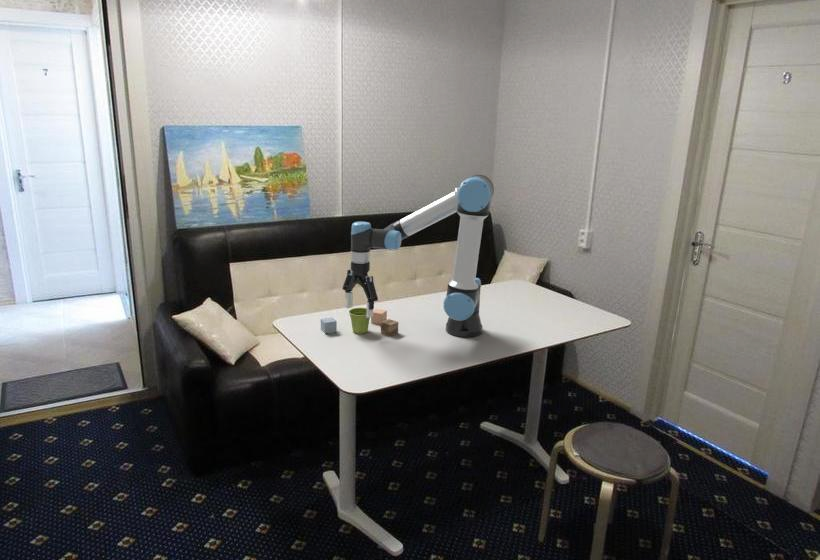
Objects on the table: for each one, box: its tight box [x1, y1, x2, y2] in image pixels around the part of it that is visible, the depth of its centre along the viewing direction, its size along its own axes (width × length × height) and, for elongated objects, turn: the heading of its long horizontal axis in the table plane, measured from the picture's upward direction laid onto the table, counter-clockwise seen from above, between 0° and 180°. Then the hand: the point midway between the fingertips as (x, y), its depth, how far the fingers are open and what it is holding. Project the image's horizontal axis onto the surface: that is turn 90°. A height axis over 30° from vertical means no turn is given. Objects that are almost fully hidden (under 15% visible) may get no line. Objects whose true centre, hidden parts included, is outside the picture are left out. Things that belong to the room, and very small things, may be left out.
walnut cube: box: [380, 318, 399, 337], centre depth 236 cm, size 5×5×5 cm
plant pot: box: [348, 307, 371, 335], centre depth 237 cm, size 9×9×9 cm
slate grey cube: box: [320, 317, 338, 335], centre depth 237 cm, size 5×5×5 cm
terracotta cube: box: [370, 308, 388, 326], centre depth 249 cm, size 5×5×5 cm
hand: (359, 312), depth 236 cm, fingers open, 13 cm apart
